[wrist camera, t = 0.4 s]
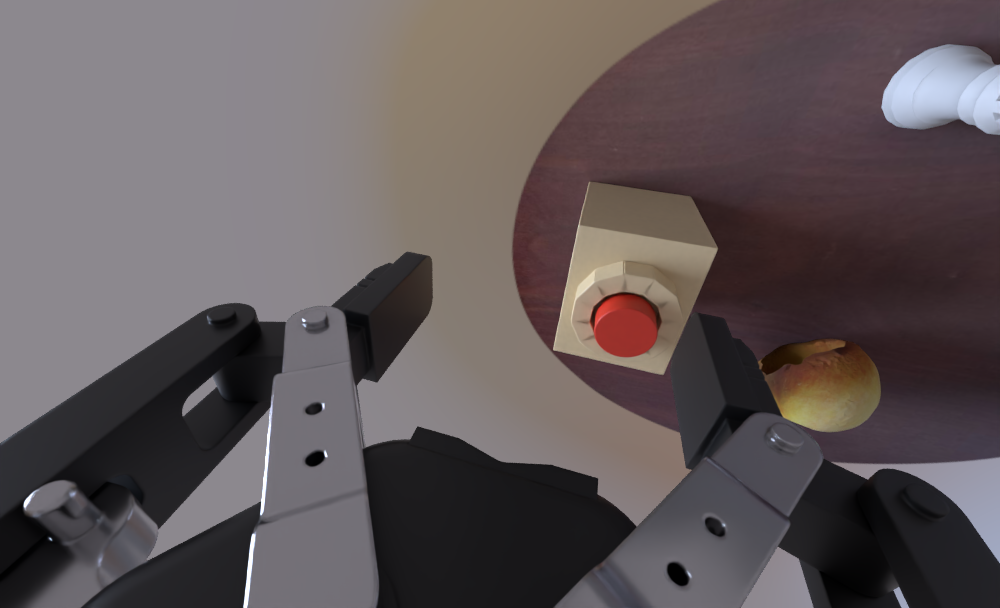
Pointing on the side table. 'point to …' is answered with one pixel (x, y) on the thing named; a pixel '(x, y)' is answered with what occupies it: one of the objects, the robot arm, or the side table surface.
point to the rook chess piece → (945, 90)
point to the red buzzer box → (634, 268)
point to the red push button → (625, 326)
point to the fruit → (823, 383)
